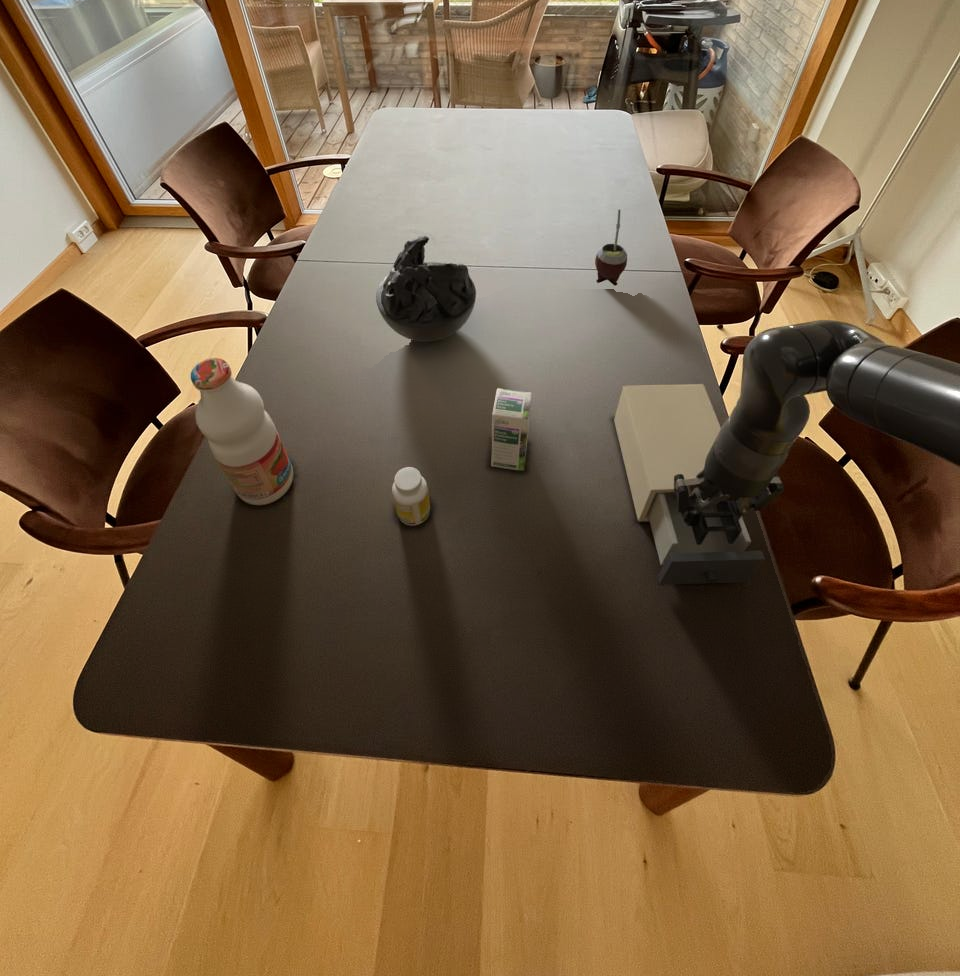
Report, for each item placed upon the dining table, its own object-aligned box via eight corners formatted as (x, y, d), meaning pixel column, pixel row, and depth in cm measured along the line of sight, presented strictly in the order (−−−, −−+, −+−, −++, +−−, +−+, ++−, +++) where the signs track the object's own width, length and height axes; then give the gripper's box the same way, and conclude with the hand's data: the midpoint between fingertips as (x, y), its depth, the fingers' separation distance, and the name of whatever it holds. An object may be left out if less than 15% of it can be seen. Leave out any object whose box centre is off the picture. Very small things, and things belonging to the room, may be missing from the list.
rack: (716, 497, 83) (724, 483, 80) (733, 543, 78) (742, 530, 75) (682, 498, 83) (689, 484, 80) (696, 544, 78) (704, 531, 75)
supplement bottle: (425, 491, 94) (421, 458, 87) (434, 520, 90) (430, 488, 83) (393, 500, 93) (386, 468, 86) (401, 530, 89) (394, 499, 82)
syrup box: (490, 467, 97) (491, 415, 87) (495, 438, 101) (496, 386, 91) (523, 472, 96) (528, 420, 86) (527, 443, 100) (532, 390, 90)
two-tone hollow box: (748, 590, 82) (768, 567, 76) (661, 593, 81) (674, 570, 76) (706, 470, 96) (720, 443, 90) (631, 471, 95) (640, 445, 90)
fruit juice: (231, 471, 97) (166, 359, 77) (286, 449, 100) (238, 336, 80) (243, 516, 91) (176, 408, 71) (301, 491, 94) (252, 381, 74)
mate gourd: (605, 291, 129) (616, 236, 119) (584, 272, 134) (592, 218, 124) (630, 280, 132) (643, 226, 121) (608, 262, 137) (619, 208, 126)
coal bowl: (453, 374, 112) (449, 302, 99) (364, 346, 117) (349, 275, 104) (490, 310, 125) (491, 239, 112) (408, 288, 130) (400, 218, 117)
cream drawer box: (724, 519, 90) (744, 487, 83) (638, 521, 90) (651, 490, 83) (688, 418, 104) (703, 383, 97) (613, 420, 104) (623, 385, 97)
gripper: (793, 424, 71) (748, 493, 83) (679, 427, 71) (650, 496, 83) (820, 477, 66) (768, 543, 78) (697, 481, 65) (663, 546, 77)
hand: (707, 519), depth 80 cm, fingers closed on rack, 5 cm apart
